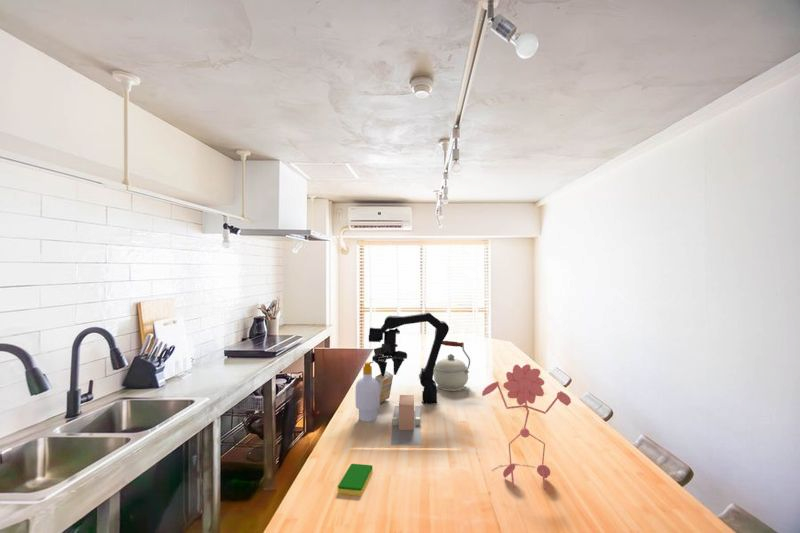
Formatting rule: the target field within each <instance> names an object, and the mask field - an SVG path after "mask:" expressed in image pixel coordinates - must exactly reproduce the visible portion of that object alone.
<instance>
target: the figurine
mask: <svg viewBox="0 0 800 533" xmlns="http://www.w3.org/2000/svg"><path fill="white" fill-rule="evenodd" d="M540 375H541V370H540V369H539V368H532V369H531V365H530V364H528V363H527V364H524V365H523V366H522V367H521V366H520V365H519V364H514V366H513V368H512V372H511V371H507V372H506V380H507V381H506V382H504V383H503V385H502V387H503V388H504V389H506V390H507V391H508V392H507V398H509V399H516V402H517V404H518V405H514V406H508V405H507V402H506V399H505V398H504V394H503V393H502V390H501V387H500V384H499V383H500V382H499V381H495V382H492V383H491V384H489V385H487V386H486V387H484V388H483V391H482V393H481V395H482V397H484V396H486V395H489V394H491V393H492V392H494V391H495V390H496V389H498V391H499V394H500V395H501V398H502V401H503V403H504V406H505V408H506V410H508V409H509V410H510V409H518V408H519V409H521V408H524V409H526V411H527V412H526V415H525V421H524V425H523V427H522V428H521V429H520V432H519V434H518V435H516V436H515V437H514V438H513V439H512V440H511V441H510V442H509V443H508V453H509V464H508V465H507V464H505V465H503V467H505V469H504V470H503V473H502V475H503V478H504V479H506V478H507V477H508V476H509V475H511V485H512V487H511V488H515V481H514V479H515V478H514V471H515V469H516V466H519V464H518V463H512V457H511V456H512V455H511V444H512V443H513V442H514V441H516V439H517V438H519V437H520V436H521V437H523V438H528V437H529V436H530V437H532V438H533V439H535V440H537V441H538V442H540V443H541V444H543V451H542V458H541V460H542V461H541V464H539V465H538V466H537V468H536V472H537V473H538V475H539V476H541V477H542V483H543V489H544V490H545V489H547V487H546V479H547V478H548V477H549V476H550V475H551V469H550V468H549V466H547V465H545V464H544V460H545V449H546V444H545V442H544V441H542V440H541V439H539V438H538V437H536V436H535V435H533V434H531V433H530V431H529V429H528V428H526V426H527V423H528V418H529V414H530V409H531V410H533V411H535V412H538V413H541V414H544V415H546V414H547V413H548V412H549V411H550V410H551V408H552V407H553V406H554V405H555V403H556V402H557V401H558V400H559V402H560V403H562V404H563V405H565V406H569V405H570V404H571V403H572V399H571V398H570V396H569V395H568V394H567V393H565V392H563V391H561V390H560V391H558V392H557V393H556V397H555V399H554V400H553V401H552V402H551V404H550V405H549V406H548V407H547V409H546V410H545V411H543V410H541V409H538V408H535V407H532V406H530V405H528V403H529V404H534V403H535V401H536V398H537V397H543V396H544V395H545V392H544V389H543V387H542V386H544V385H545V380H544V379H543V378H541V377H540ZM525 466H526V467H529V465H527V464H524V467H525ZM501 467H502V464H500V465H499V466H497V467H494V468H493V469H492V471H493V470H495V469H497V468H501ZM530 467H531V468H534V466H532V465H530Z"/></svg>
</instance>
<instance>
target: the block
mask: <svg viewBox="0 0 800 533" xmlns="http://www.w3.org/2000/svg"><path fill="white" fill-rule="evenodd" d="M398 406H399V430H414V411H415V395H414V394H399V400H398Z"/></svg>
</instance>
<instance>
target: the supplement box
mask: <svg viewBox="0 0 800 533" xmlns="http://www.w3.org/2000/svg"><path fill="white" fill-rule="evenodd" d="M393 378H394V374H392V373H390V372H389V371H387V370H385V374H384V376H382V375H381V373H380V374H378V375H376V376H375V377H374V379H376V380H377V381H378V383H379V387H380V404H381V403H383V402H384V401H386V400H388V399H390V397H391V396H390V395H391V389H392V384H393Z"/></svg>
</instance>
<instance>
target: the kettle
mask: <svg viewBox="0 0 800 533" xmlns="http://www.w3.org/2000/svg"><path fill="white" fill-rule="evenodd" d="M464 344H465V343H464V342H463V341H461V342H458V341H452V340H443V341H442V344H441V346H442V345H443V346H448V347H460V348H462V352H463V353H464V355H465V357H467V360H468V365H467V366H466V364H465V363H464V361H463V360H461V359H459V358H456V357H455V355H454V354H452V353H450V354H448V355H447V358H442V359H440V360H438V362H436V363H435V366H434V370H433V380H434V381H435V383H436V385H437V388H438V389H440V390H443V391H445V392H446V391H447V392H457V391H458V392H459V391H462V390H464V388H465V386H466V384H467V382H468V380H469V373H470V371H469V369H470V366H471V358H470V357H469V355H468V353H467V352H466V350H465V345H464Z"/></svg>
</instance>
